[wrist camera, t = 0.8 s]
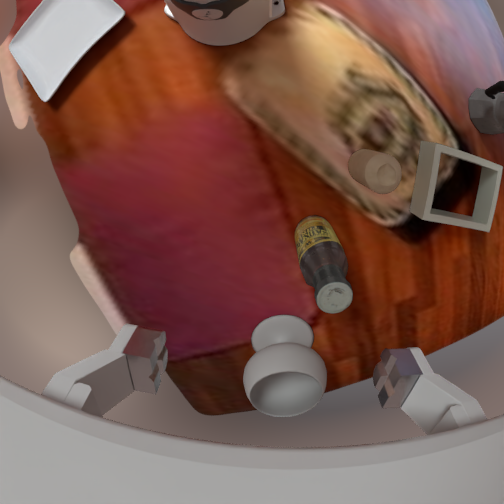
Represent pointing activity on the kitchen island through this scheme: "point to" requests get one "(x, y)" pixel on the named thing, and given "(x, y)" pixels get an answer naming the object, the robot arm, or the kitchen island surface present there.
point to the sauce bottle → (323, 263)
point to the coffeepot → (488, 109)
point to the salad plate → (60, 39)
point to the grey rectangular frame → (427, 183)
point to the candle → (375, 170)
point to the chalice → (284, 368)
